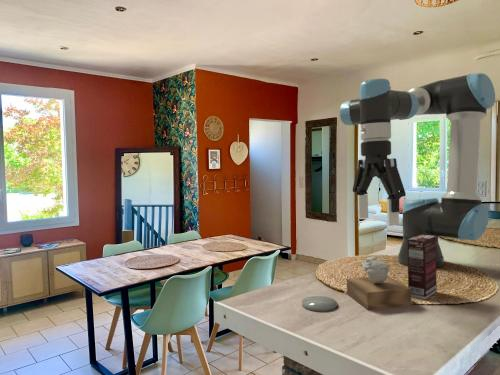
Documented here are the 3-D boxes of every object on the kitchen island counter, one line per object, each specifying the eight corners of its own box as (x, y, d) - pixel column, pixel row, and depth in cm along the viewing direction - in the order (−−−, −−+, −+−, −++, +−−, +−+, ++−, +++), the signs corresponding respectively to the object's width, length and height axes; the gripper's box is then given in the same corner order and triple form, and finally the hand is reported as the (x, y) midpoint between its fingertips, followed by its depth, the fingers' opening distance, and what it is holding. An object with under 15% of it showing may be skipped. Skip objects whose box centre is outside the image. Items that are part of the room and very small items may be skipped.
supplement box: (419, 288, 110) (419, 234, 109) (437, 292, 106) (437, 235, 105) (406, 296, 104) (406, 238, 103) (425, 300, 100) (424, 240, 99)
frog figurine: (369, 279, 106) (366, 254, 106) (394, 280, 102) (391, 254, 102) (360, 285, 101) (357, 258, 102) (387, 286, 97) (383, 259, 97)
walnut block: (386, 292, 109) (386, 275, 109) (411, 307, 97) (411, 288, 97) (347, 296, 107) (346, 278, 107) (367, 312, 95) (367, 292, 95)
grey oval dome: (327, 297, 105) (327, 294, 105) (343, 308, 96) (343, 305, 96) (296, 301, 103) (296, 298, 103) (310, 313, 94) (310, 310, 94)
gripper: (339, 143, 110) (341, 216, 112) (392, 137, 86) (394, 230, 87) (362, 143, 112) (364, 214, 113) (420, 136, 88) (422, 227, 89)
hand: (377, 221), depth 100 cm, fingers open, 13 cm apart
